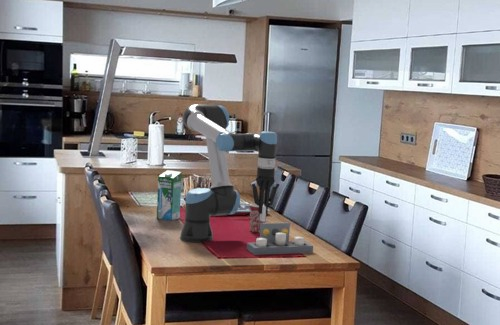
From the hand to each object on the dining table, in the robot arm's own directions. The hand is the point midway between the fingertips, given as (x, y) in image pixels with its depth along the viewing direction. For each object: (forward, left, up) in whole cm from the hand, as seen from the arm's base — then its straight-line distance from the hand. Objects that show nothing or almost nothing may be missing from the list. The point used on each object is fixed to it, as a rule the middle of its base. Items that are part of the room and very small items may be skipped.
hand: (262, 220), depth 291 cm
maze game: (+18, +88, -15) cm, 91 cm away
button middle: (+9, 0, -11) cm, 14 cm away
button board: (+9, 0, -15) cm, 17 cm away
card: (+9, +7, -15) cm, 19 cm away
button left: (0, 0, -13) cm, 13 cm away
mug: (+14, +42, -15) cm, 47 cm away
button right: (+18, 0, -13) cm, 22 cm away
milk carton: (-24, +74, -15) cm, 79 cm away
